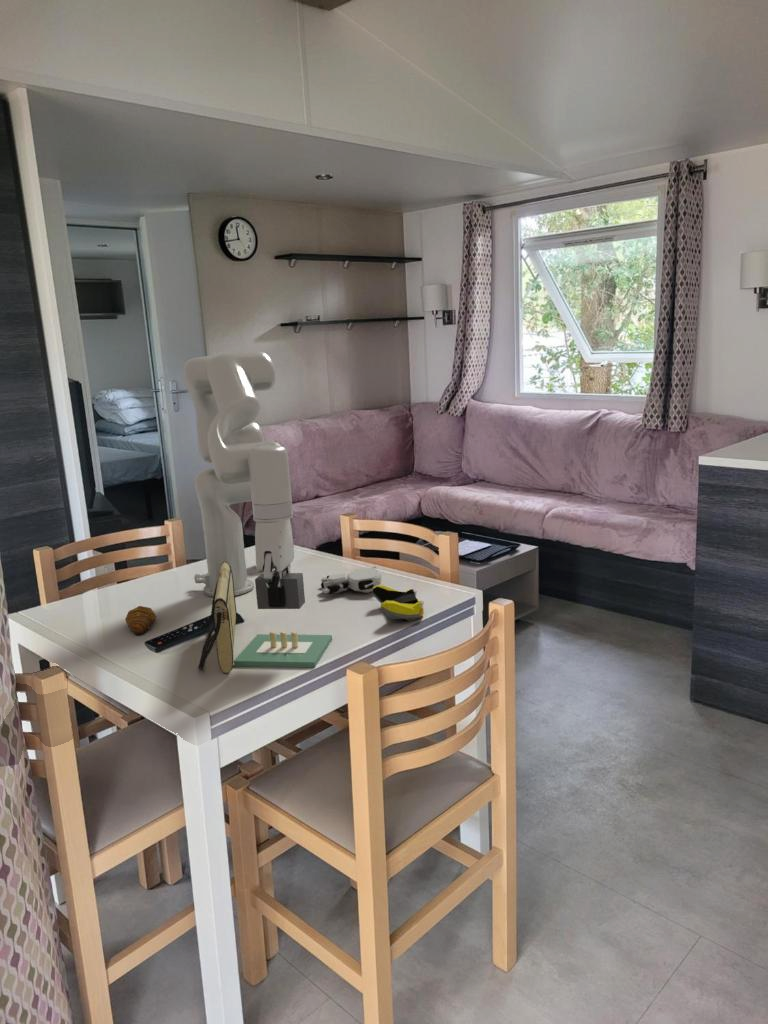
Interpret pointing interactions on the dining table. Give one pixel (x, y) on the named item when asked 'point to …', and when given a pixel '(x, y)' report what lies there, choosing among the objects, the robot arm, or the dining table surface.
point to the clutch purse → (222, 620)
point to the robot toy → (352, 581)
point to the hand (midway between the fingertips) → (281, 601)
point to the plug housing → (291, 587)
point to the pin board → (284, 650)
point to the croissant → (140, 619)
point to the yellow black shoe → (398, 603)
